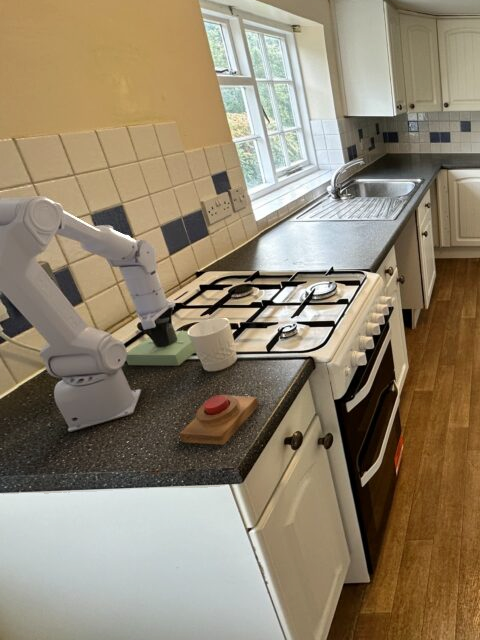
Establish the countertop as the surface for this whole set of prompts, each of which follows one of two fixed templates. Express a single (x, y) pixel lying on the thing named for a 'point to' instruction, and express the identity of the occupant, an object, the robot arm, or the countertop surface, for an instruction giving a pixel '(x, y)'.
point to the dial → (170, 335)
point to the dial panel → (161, 352)
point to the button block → (219, 422)
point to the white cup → (213, 343)
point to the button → (216, 404)
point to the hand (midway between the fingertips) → (165, 340)
